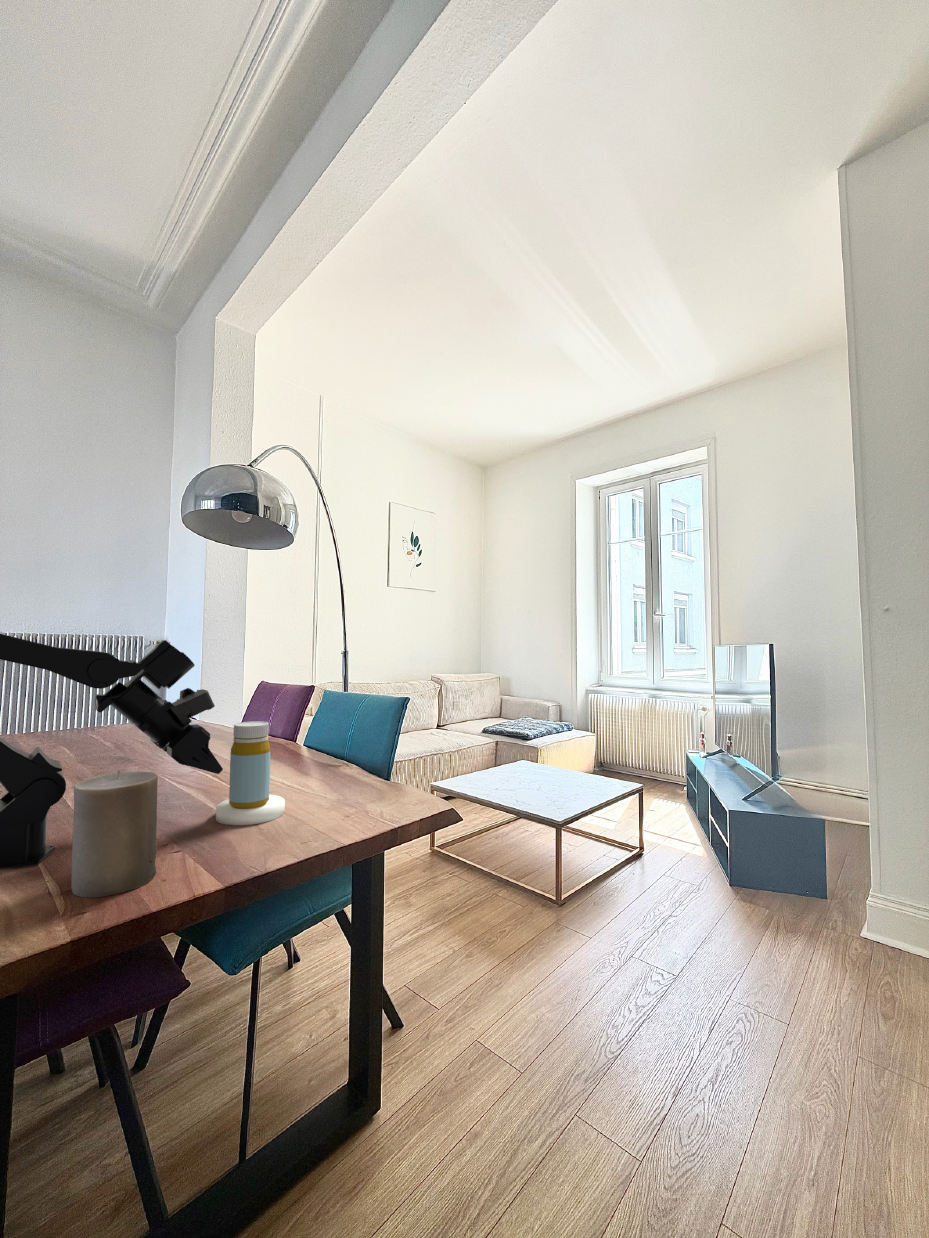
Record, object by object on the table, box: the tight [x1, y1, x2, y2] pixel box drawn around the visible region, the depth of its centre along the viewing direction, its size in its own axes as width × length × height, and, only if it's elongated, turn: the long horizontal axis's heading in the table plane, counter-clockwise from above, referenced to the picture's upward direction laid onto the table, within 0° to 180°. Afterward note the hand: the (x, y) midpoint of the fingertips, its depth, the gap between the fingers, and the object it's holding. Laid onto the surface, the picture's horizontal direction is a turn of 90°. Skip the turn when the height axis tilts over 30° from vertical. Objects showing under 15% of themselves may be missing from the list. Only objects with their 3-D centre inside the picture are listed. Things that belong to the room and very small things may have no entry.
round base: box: [215, 794, 286, 826], centre depth 99 cm, size 12×12×2 cm
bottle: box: [228, 720, 272, 809], centre depth 99 cm, size 7×7×15 cm
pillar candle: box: [70, 769, 159, 899], centre depth 72 cm, size 10×10×15 cm
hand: (213, 766), depth 95 cm, fingers open, 9 cm apart
